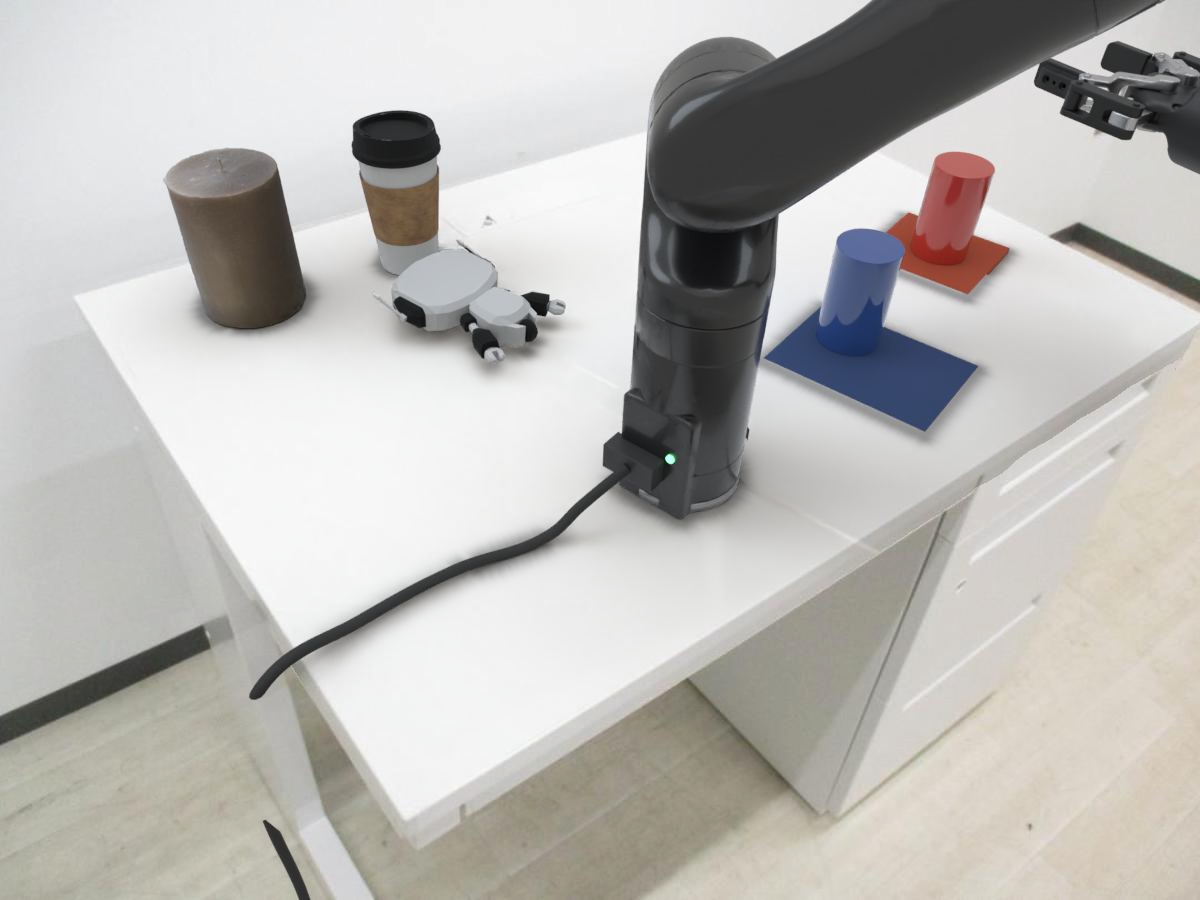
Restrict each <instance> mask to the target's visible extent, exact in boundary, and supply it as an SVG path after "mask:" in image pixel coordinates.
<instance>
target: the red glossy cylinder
mask: <svg viewBox="0 0 1200 900" xmlns="http://www.w3.org/2000/svg"><path fill="white" fill-rule="evenodd" d="M995 173H996V167H995V165H994V164H993V163H992V162H991V161H989V159H987V158H985V157H983V156H981V155H977V154H974V153H970V152H965V151H946V152H941V153H940V154H938V155H936V156H935V157H934V160H933V164H932V167H931V170H930V174H929V178H928V181H927V184H926V188H925V191H924V195H923V198H922V202H921V206H920V208H919V212H918V215H917V216H918V219H917V222H916V226H915V229H914V233H913V236H912V240H911V243H910V249H911V251H912V253H913V254H914V255H915V256H917V257H918V258H920V259H922V260H924V261H926V262H929V263H933V264H937V265H955V264H958V263H961V262H962V261H964V260H965V258H966V256H967V253H968V250H969V247H970V244H971V241H972V238H973V235H974V236H975V232H976V229H977V226H978V223H979V221H980V217H981V214H982V211H983V209H984V205H985V203H986V199H987V197H988V194H989V190H990V188H991V185H992V181H993V178H994V175H995Z"/></svg>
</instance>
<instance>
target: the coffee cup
mask: <svg viewBox="0 0 1200 900" xmlns="http://www.w3.org/2000/svg"><path fill="white" fill-rule="evenodd" d="M441 150H442V145H441V139H440V137H439V134H438V133H437V130H436V125H435V122H434V120H433V119H432V118H431V117H430V116H428V115H426V114H424V113H422V112H417V111H412V110H405V109H404V110H401V109H400V110H399V109H397V110H396V109H395V110H386V111H380V112H374V113H372V114H368V115H365V116H363V117H361V118H359V119H357V120H355V122H353V124H352V141H351V154H352V156H353V158H354V159H355V160H357V162H358V166H359V170H358V175H359V179H360V183H361V188H362V191H363V195H364V199H365V203H366V207H367V211H368V215H369V218H370V223H371V226H372V230H373V231H372V232H373V234H374V237H375V241H376V245H377V249H378V250H377V251H378V255H379V258H380V262H381V265H382V267H383V269H384V270H386V271H387V272H389V273H390V274H393V275H395V276H396V275H397V276H399V275H400V274H401V273H402V272H403V271H405V270H406V269H407V268H408V267H409V266H410V265H412V264H413V263H415V262H416V261H418V260H421V259H423V258H425V257H427V256H429V255H431V254H434V253H437V252H439V227H440V226H439V222H440V221H439V220H440V218H439V217H440V216H439V214H440V212H439V211H440V166H439V164H438V155H440V152H441Z"/></svg>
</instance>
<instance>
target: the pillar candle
mask: <svg viewBox="0 0 1200 900" xmlns="http://www.w3.org/2000/svg"><path fill="white" fill-rule="evenodd" d="M162 181H163V183H164V184H165V185H166V189H167V191H168V195H169V199H170V202H171V205H172V208H173V212H174V214H175V217H176V218H175V219H176V221H177V224H178V228H179V232H180V236H181V237H182V241H183V246H184V249H185V252H186V256H187V260H188V263H189V265H190V268H191V271H192V274H193V277H194V280H195V285H196V287H197V289H198V290H197V291H198V292H199V296H200V298H201V299H200V300H201V302H202V303H201V304H202V306H203V309H204V312H205V314H206V316H208V318H209V319H210V320H211V321H213V322H215V323H216V324H219V325H222V326H223V327H229V328H239V329H259V328H265V327H268V326H271V325H272V326H273V325H276V324H278V323H280V322H282V321H285V320H287V319H288V318H290V317H291V316H293V315H294V314H296V313H297V312H299V311H300V310H301V309H302V307H303V306H304V303H305V300H306V299H307V292H306V286H305V281H304V277H303V272H302V268H301V267H302V266H301V264H300V258H299V255H298V250H297V247H296V246H297V245H296V241H295V236H294V232H293V229H292V224H291V220H290V215H289V210H288V206H287V202H286V199H285V194H284V193H285V192H284V188H283V184H282V180H281V174H280V171H279V166H278V163H277V162H276V160H275V158H273V157H272V156H271V155H269V154H267V153H265V152H264V151H259V150H255V149H252V148H251V149H250V148H243V147H223V148H215V149H214V148H213V149H208V150H207V151H205V150H204V151H203V152H200V153H197V154H193V155H190V156H189V157H188V156H187V157H185V158H183V159H181V160H180V161H178V162H177V163H176V164H174V165H172V166H171V167H170V168H169V169H168V171H166V173H165V176H164V177H162Z"/></svg>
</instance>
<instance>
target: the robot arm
mask: <svg viewBox="0 0 1200 900" xmlns="http://www.w3.org/2000/svg"><path fill="white" fill-rule="evenodd" d="M1165 1H1166V0H870V1H868V2H867V3H866V4H865V5H864V6H862V7H861V8H860V9H858V10H857V11H855V13H853V14H852V15H850V16H849V17H847V18H846V19H845V20H843V21H841V22H839V23H838V24H836V25H835V26H833V27H831V28H830V29H828V30H827V31H825V32H823V33H821V34H819V35H817V36H816V37H814V38H812V39H810V40H808V41H806V42H804V43H802V44H801V45H799V46H797V47H795V48H793V49H791V50H790V51H788V52H785V53H784V54H782V55H780V56H779V57H776V56H774V54H773V53H772V52H770V51H769V50H768V49H767V48H765V47H763V46H762V45H760V44H758V43H756V42H754V41H751V40H749V39H746V38H741V37H735V36H719V37H717V36H716V37H711V38H707V39H705V40H701V41H699V42H696V43H694V44H692V45H690V46H688V47H686V48H685V49H684V50H683V51H681V52H680V53H679V54H678V55H676V56H675V57H674V58H673V59H672V60H671V61H670V63H669V64H668V65H666V67H665V69H664V70H663V71H662V73H661V75H660V76H659V78H658V79H657V82H656V84H655V86H654V89H653V91H652V93H651V97H650V101H649V107H648V116H647V128H646V143H645V144H646V145H645V161H644V162H645V163H644V178H643V192H642V193H643V195H642V207H641V217H640V218H641V219H640V229H639V230H640V232H639V248H638V262H637V263H638V264H637V265H638V266H637V285H636V300H635V315H634V316H635V317H634V325H633V327H634V328H633V341H632V357H631V372H630V385H629V386H630V387H629V389H628V391H626V392H625V393H624V395H623V405H622V421H621V422H622V423H621V432H619V431H617V432H616V433H615V434H614V435H612V436H611V437H610V438H609V439H607V440H606V441H605V442H604V443H603V447H602V448H603V449H602V467H604V468H606V469H607V470H609V471H610V472H612V473H610V474H609V475H608V476H606V477H605V478H604V479H603V480H602V481H600V482H599V483H597V485H596V486H594V487H593V488H592V489H590V490H589V491H588V492H587V493H586V494H584V496H582V497H581V498H580V499H578V500H577V501H576V503H574V504H573V505H572V506H571V507H570V508H569V509H567V511H566V512H565V513H564V514H563V516H561V517H560V518H559V520H557V522H556V523H554V524H553V525H552V526H550V527H549V528H548V529H546V530H544V531H543V532H541V533H539V534H538V535H535V536H533V537H532V538H529V539H526V540H524V541H521V542H519V543H516V544H513V545H510V546H507V547H503V548H500V549H497V550H492V551H489V552H485V553H482V554H479V555H475V556H473V557H469V558H467V559H463V560H461V561H459V562H456V563H454V564H452V565H450V566H447V567H444V568H443V569H440V570H439V571H436V572H434V573H431V574H430V575H427V576H426V577H424V578H421V579H420V580H418V581H416V582H413V583H412V584H410V585H409V586H406V587H405V588H403V589H400V590H399V591H398V592H396V593H394V594H392V595H390V596H388V597H387V598H384V599H383V600H381V601H380V602H378V603H376V604H375V605H373V606H371V607H369V608H367V609H366V610H364V611H362V612H361V613H359V614H357V615H356V616H354V617H352V618H349V619H347V620H346V621H344V622H342V623H339V624H338V625H336V626H334V627H332V628H330V629H328V630H326V631H323V632H321V633H320V634H317V635H315V636H313V637H311V638H309V639H307V640H305V641H303V642H302V643H300V644H298V645H297V646H295V647H292V649H290V650H289V651H287V652H285V653H284V654H283V655H282V656H280V657H279V658H278V659H277V660H276V661H274V662H273V663H272V664H271V665H270V666H269V667H268V668H267V669H266V670H265V671H264V673H262V674H261V676H260V677H259V678H258V680H257V681H256V682H255V684H254V685H253V686H252V688H251V690H250V691H249V695H248V698H249V699H250V700H251V701H257V700H259V699H261V698H263V697H264V695H265V694H266V693H267V691H268V690H269V689H270V687H271V686H272V685H273V684H274V682H275V681H276V680H277V679H278V678H279V677H280V676H281V675H282V674H283V673H284V672H285V671H287V670H288V669H289V668H290V667H291V666H293V665H294V664H296V663H297V662H298V661H300V660H302V659H303V658H305V657H306V656H308V655H310V654H312V653H314V652H316V651H317V650H319V649H321V648H324V647H326V646H327V645H330V644H332V643H334V642H336V641H338V640H340V639H342V638H344V637H347V636H348V635H350V634H352V633H354V632H356V631H358V630H359V629H361V628H362V627H364V626H366V625H368V624H370V623H371V622H373V621H375V620H376V619H378V618H380V617H381V616H383V615H386V613H389V612H390V611H392V610H393V609H396V608H398V607H399V606H401V605H402V604H404V603H406V602H408V601H410V600H411V599H413V598H415V597H418V595H419V596H420V595H421V594H423V593H424V592H426V591H428V590H430V589H432V588H435V587H436V586H438V585H441V584H443V583H445V582H447V581H450V580H452V579H453V578H455V577H457V576H460V575H463V574H465V573H467V572H470V571H473V570H476V569H479V568H481V567H485V566H488V565H491V564H495V563H500V562H502V561H506V560H510V559H513V558H516V557H519V556H522V555H524V554H527V553H530V552H533V551H535V550H537V549H538V548H541V547H543V546H544V545H546V544H548V543H550V542H551V541H553V540H555V539H556V538H558V537H559V536H560V535H561V534H563V533H564V532H565V531H566V530H567V529H568V528H569V527H570V526H571V525H572V524H573V523H574V521H576V520H577V518H578V517H579V516H581V515H582V513H583V512H585V511H586V510H587V509H588V508H589V507H590V506H592V505H593V504H594V503H595V502H596V501H598V500H599V499H600V498H601V497H603V496H604V495H605V494H606V493H608V492H609V491H610V490H611V489H613V488H614V487H615V486H616V485H617V484H618V485H619V486H620V487H622V488H624V489H625V490H627V491H629V492H631V493H632V494H634V495H636V496H637V497H639V498H641V499H642V500H644V501H645V502H647V503H648V504H651V505H653V506H655V507H657V508H658V509H660V510H662V511H664V512H666V513H667V514H669V515H671V516H672V517H674V518H676V519H679V520H682V519H684V518H685V517H686V516H687V515H688V514H690V513H694V512H695V513H696V512H703V511H706V510H710V509H713V508H716V507H717V506H720V505H721V504H723V503H725V502H726V501H727V500H729V499H730V498H731V497H732V496H733V494H735V492H736V490H737V489H738V486H739V483H740V479H741V473H742V466H741V465H742V460H743V454H744V449H745V443H746V441H748V440H749V435H750V428H749V422H750V416H751V410H752V405H753V399H754V394H755V389H756V383H757V379H758V373H759V367H760V361H761V355H762V349H763V344H764V339H765V334H766V329H767V324H768V318H769V312H770V306H771V301H772V296H773V291H774V285H775V281H776V280H775V279H776V272H777V252H778V251H777V249H778V231H779V219H780V218H779V216H780V214H781V213H783V212H784V211H786V210H788V209H790V208H791V207H792V206H794V205H796V204H798V203H799V202H800V201H803V200H804V199H805V198H807V197H808V196H811V194H813V193H814V192H816V191H817V190H819V189H820V188H822V187H824V186H826V185H827V184H828V183H830V182H831V181H833V180H834V179H836V178H838V177H839V176H841V175H842V174H844V173H845V172H847V171H849V170H850V169H852V168H853V167H854V166H856V165H858V164H859V163H861V162H862V161H864V160H865V159H867V158H868V157H870V156H871V155H873V154H875V153H876V152H878V151H880V150H881V149H883V148H885V147H886V146H888V145H889V144H891V143H892V142H894V141H896V140H897V139H899V138H902V137H903V136H905V135H906V134H907V133H909V132H912V131H913V130H915V129H916V128H918V127H921V126H923V125H924V124H926V123H929V122H930V121H932V120H934V119H936V118H938V117H939V116H942V115H944V114H946V113H948V112H950V111H953V110H954V109H956V108H958V107H960V106H962V105H965V104H966V103H968V102H970V101H972V100H973V99H976V98H978V97H980V96H981V95H983V94H986V93H987V92H990V91H991V90H993V89H994V88H996V87H998V86H1001V85H1002V84H1004V83H1006V82H1007V81H1010V80H1011V79H1013V78H1015V77H1017V76H1019V75H1020V74H1023V73H1025V72H1026V71H1029V70H1031V69H1033V68H1034V67H1036V66H1038V67H1037V69H1036V70H1037V71H1036V73H1035V75H1034V79H1033V85H1034V86H1035V88H1038V89H1040V90H1042V91H1044V92H1047V93H1049V94H1052V95H1053V96H1056V97H1058V98H1060V99H1063V100H1064V101H1063V103H1062V105H1061V108H1060V110H1059V114H1060V115H1061V116H1063V117H1064V118H1067V119H1070V120H1073V121H1075V122H1077V123H1080V124H1082V125H1085V126H1087V127H1090V128H1092V129H1094V130H1097V131H1098V132H1102V133H1104V134H1106V135H1108V136H1111V137H1113V138H1116V139H1118V140H1120V141H1130V140H1132V139H1133V136H1134V134H1135V131H1136V130H1138V131H1142V132H1148V133H1160V134H1163V135H1164V136H1165V139H1166V141H1167V155H1168V158H1169V159H1170V161H1171V162H1172V163H1174V164H1175V165H1177V166H1180V167H1181V168H1184V169H1187V170H1189V171H1191V172H1193V173H1195V174H1197V175H1200V57H1198V56H1195V55H1192V54H1191V53H1188V52H1187V51H1184V50H1180V51H1174V53H1173V55H1172V57H1171V55H1169V54H1167V53H1166V52H1161V51H1160V52H1154V53H1151V52H1149V51H1146V50H1143V49H1141V48H1138V47H1135V46H1133V45H1130V44H1128V43H1125V42H1122V41H1119V40H1116V41H1111V42H1109V43H1108V44H1107V45H1106V47H1105V50H1104V52H1103V55H1102V58H1101V60H1100V67H1101V68H1102V69H1103V70H1105V71H1107V72H1110V73H1112V75H1110V76H1107V75H1100V74H1093V73H1090V72H1086V71H1083V70H1081V69H1079V68H1076V67H1074V66H1073V65H1072V66H1071V65H1069V64H1067V63H1064V62H1062V61H1060V60H1057V59H1054V57H1056V56H1057V55H1060V54H1063V53H1064V52H1067V51H1069V50H1070V49H1074V48H1075V47H1077V46H1079V45H1081V44H1084V43H1086V42H1088V41H1090V40H1093V39H1094V38H1095V37H1098V36H1100V35H1102V34H1104V33H1105V32H1108V31H1109V30H1111V29H1114V28H1115V27H1118V26H1120V25H1121V24H1123V23H1125V22H1127V21H1130V20H1131V19H1132V18H1133V19H1134V17H1137V16H1139V15H1140V14H1143V13H1145V12H1147V11H1148V10H1150V9H1152V8H1155V7H1156V6H1157V5H1159V4H1162V3H1163V2H1165ZM1124 87H1126V89H1125V91H1124V94H1123V95H1120V92H1121V90H1122V89H1123V88H1124ZM1089 98H1090V99H1089ZM1091 99H1092V100H1091ZM262 823H263V826H264V829H265V831H266V833H267V835H268V837H269V839H270V841H271V844H272V845H273V848H274V850H275V852H276V854H277V856H278V858H279V859H280V861H281V863H282V865H283V867H284V869H285V871H286V873H287V876H288V877H289V880H290V882H291V884H292V886H293V888H294V891H295V893H296V895H297V899H298V900H311V896H310V894H309V891H308V888H307V886H306V884H305V881H304V879H303V877H302V876H303V875H302V874H301V872H300V869H299V867H298V865H297V863H296V861H295V859H294V857H293V855H292V853H291V851H290V849H289V847H288V845H287V843H286V840H285V838H284V837H283V834H282V832H281V830H279V829H278V828H276V827H275V826H274V825H273V824H272V823H271V822H269V821H268V820H267V819H263V820H262Z"/></svg>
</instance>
